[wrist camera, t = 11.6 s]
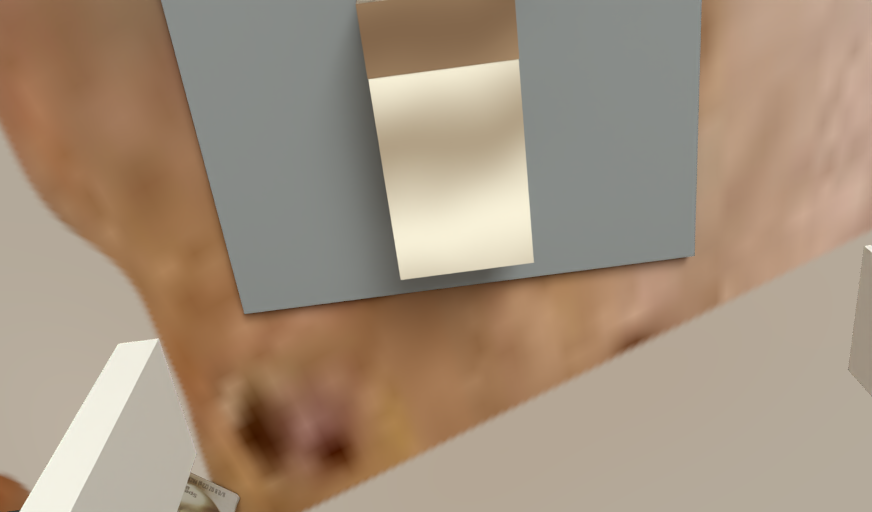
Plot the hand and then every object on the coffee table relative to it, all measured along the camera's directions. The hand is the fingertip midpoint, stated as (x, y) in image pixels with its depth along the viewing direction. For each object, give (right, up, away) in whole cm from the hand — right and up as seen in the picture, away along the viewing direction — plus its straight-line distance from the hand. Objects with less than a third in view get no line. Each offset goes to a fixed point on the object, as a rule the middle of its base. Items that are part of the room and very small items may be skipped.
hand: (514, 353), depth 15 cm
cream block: (-1, +8, +16) cm, 18 cm away
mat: (-1, +8, +17) cm, 19 cm away
